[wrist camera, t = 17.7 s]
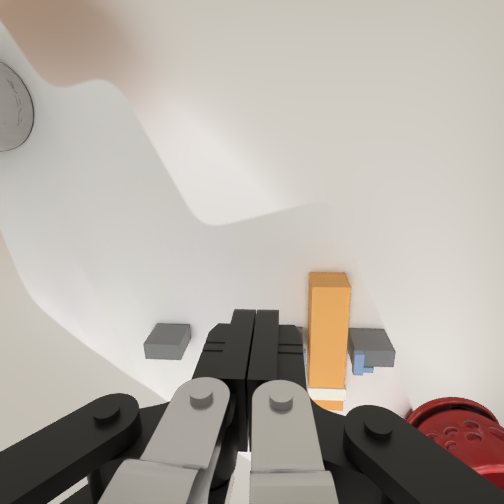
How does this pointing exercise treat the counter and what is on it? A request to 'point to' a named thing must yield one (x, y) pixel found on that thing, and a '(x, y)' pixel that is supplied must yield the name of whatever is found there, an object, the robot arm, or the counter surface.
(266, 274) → the counter surface
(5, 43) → the counter surface
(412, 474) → the robot arm
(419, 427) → the plant pot
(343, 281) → the banded orange pillar
